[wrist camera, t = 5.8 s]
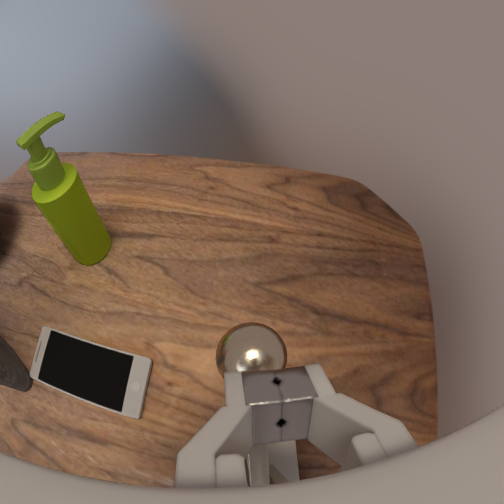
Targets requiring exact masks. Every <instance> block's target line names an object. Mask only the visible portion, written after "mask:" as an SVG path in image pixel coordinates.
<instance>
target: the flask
mask: <svg viewBox="0 0 504 504" xmlns="http://www.w3.org/2000/svg"><path fill="white" fill-rule="evenodd" d="M29 374H30V373H29V372H28V370H27V369H26V367H25V366H24V364H23V363H22V361H21V360H20V359H19V357H18V356H17V355H16V353H15V352H14V351H13V350H12V348H11V347H10V346H9V345H8V344H7V343H6V341H5V340H4V339H3V338H2V337H1V336H0V384H1V385H4V386H7V387H10V388H14V389H17V390H20V391H24V392H26V391H28V390H29V389H30V388H31V386H32V378H31V377H30V375H29Z"/></svg>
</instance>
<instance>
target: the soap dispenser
mask: <svg viewBox="0 0 504 504" xmlns="http://www.w3.org/2000/svg"><path fill="white" fill-rule="evenodd" d="M64 117H65V114H63V113H60V112H54V113H52V114H50V115H47V116H46V117H44V118H42V119H40V120H39V121H38V122H36V123H35V124H34V125H32V126H31V127H30V128H29V129H28V130H27V131H26V132H25V133H24V134H23V135H21V137H19V138H18V140H17V141H16V143H17V145H18V146H19V147H21V148H22V149H23V150H25V149H26V148H27V150H28V152H29V154H30V155H31V159H30V161H29V163H28V169H29V171H30V173H31V174H32V176H33V178H34V180H35V183H34V185H33V188H32V198H33V200H34V201H35V203H36V204H37V206H38V207H39V209H40V210H41V212H42V213H43V215H44V216H45V218H46V219H47V221H48V222H49V223H50V225H51V226H52V228H53V229H54V231H55V232H56V233H57V235H58V236H59V237H60V239H61V240H62V242H63V243H64V244H65V246H66V247H67V248H68V250H69V251H70V252H71V253H72V255H73V256H74V257H75V259H76V260H77V261H78V262H79V263H81V264H83V265H93V264H96V263H98V262H99V261H101V260H102V259H103V258H104V257H105V256H106V255H107V253H108V252H109V249H110V246H111V239H110V236H109V234H108V232H107V230H106V229H105V227H104V225H103V223H102V221H101V219H100V217H99V215H98V213H97V211H96V209H95V207H94V205H93V203H92V201H91V199H90V197H89V195H88V193H87V191H86V189H85V187H84V185H83V183H82V181H81V178H80V176H79V174H78V172H77V170H76V168H75V166H74V165H72V164H70V163H61V162H60V160H59V158H58V156H57V154H56V151H55V150H54V149H53V148H51V147H50V148H49V147H48V148H45V147H44V145H43V143H42V140H41V138H40V135H41V134H42V133H44V132H45V131H46V130H47V129H49V128H50V127H51V126H53V125H54V124H56V123H58V122H60V121H62V120H64Z"/></svg>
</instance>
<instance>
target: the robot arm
mask: <svg viewBox="0 0 504 504" xmlns="http://www.w3.org/2000/svg"><path fill="white" fill-rule="evenodd" d="M224 383H225V399H226V407H220V409H219V410H218V411H217V412H216V413H215V414H214V415H213V416H212V417H211V418H210V420H209V421H208V422H207V423H206V424H205V425H204V426H203V427H202V428H201V429H200V430H199V431H198V432H197V433H196V435H195V436H194V437H193V438H192V439H191V440H190V441H189V442H188V443H187V444H186V445H185V446H184V447H183V448H182V449H181V450H180V451H179V452H178V453H177V461H176V472H175V484H174V488H166V487H152V486H142V485H133V484H125V483H118V482H111V481H105V480H100V479H94V478H89V477H85V476H80V475H76V474H71V473H67V472H63V471H59V470H56V469H52V468H49V467H45V466H42V465H39V464H35V463H32V462H29V461H26V460H23V459H21V458H18V457H15V456H12V455H10V454H7V453H5V452H2V451H0V504H504V404H503V405H501V406H499V407H498V408H496V409H494V410H493V411H491V412H489V413H488V414H486V415H484V416H482V417H480V418H479V419H477V420H475V421H473V422H471V423H470V424H467V425H465V426H464V427H461V428H460V429H457V430H455V431H454V432H451V433H449V434H447V435H445V436H443V437H441V438H438V439H436V440H434V441H431V442H429V443H427V444H424V445H422V446H418V445H417V443H416V442H415V440H414V439H413V437H412V436H411V435H410V433H409V432H408V430H407V429H406V427H405V426H404V424H403V423H402V422H401V421H399V420H397V419H395V418H392V417H390V416H388V415H386V414H384V413H381V412H379V411H377V410H375V409H373V408H371V407H369V406H366V405H364V404H362V403H360V402H358V401H356V400H354V399H352V398H350V397H348V396H346V395H344V394H342V393H337V394H336V392H335V390H334V389H333V387H332V385H331V383H330V381H329V379H328V377H327V376H326V374H325V372H324V370H323V368H322V366H321V365H320V364H319V363H317V364H311V365H304V366H301V367H293V368H284V369H274V370H273V369H272V370H257V371H241V372H240V371H239V372H225V373H224ZM301 439H307V440H308V441H310V442H311V443H312V444H313V445H315V446H316V447H317V448H318V449H320V450H321V451H322V452H323V453H325V454H326V455H327V456H329V457H330V458H331V459H332V460H334V461H335V462H336V463H338V464H339V465H340V466H342V469H341V472H337V473H333V474H329V475H324V476H319V477H314V478H309V479H304V480H298V481H292V482H285V483H278V484H270V485H261V486H250V487H248V485H247V478H246V471H245V464H244V461H245V459H246V458H247V456H248V454H249V453H250V451H251V449H252V447H253V445H262V444H269V443H277V442H285V441H293V440H301Z"/></svg>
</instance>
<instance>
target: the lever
mask: <svg viewBox="0 0 504 504" xmlns="http://www.w3.org/2000/svg"><path fill="white" fill-rule="evenodd" d="M216 364H217V368H218V370H219V373H220V374H221V376H222V377H223V379H224V373H225V372H239V371H240V372H241V371H257V370H272V369H273V370H274V369H284V368H286V364H287V350H286V346H285V344H284V342H283V340H282V338H281V337H280V336H279V334H278V333H277V332H276V331H274V330H273V329H272V328H270V327H268V326H266V325H264V324H260V323H254V322H249V323H243V324H239V325H237V326H235V327H233V328H231V329H230V330H228V331H227V332H226V333H225V334H224V336H223V337H222V338H221V340H220V342H219V344H218V346H217V350H216ZM247 459H248V471H249V483H250V486H261V485H270V480H269V459H268V444H262V445H253V447H252V449H251V451H250V453H249V454H248V456H247Z"/></svg>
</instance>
